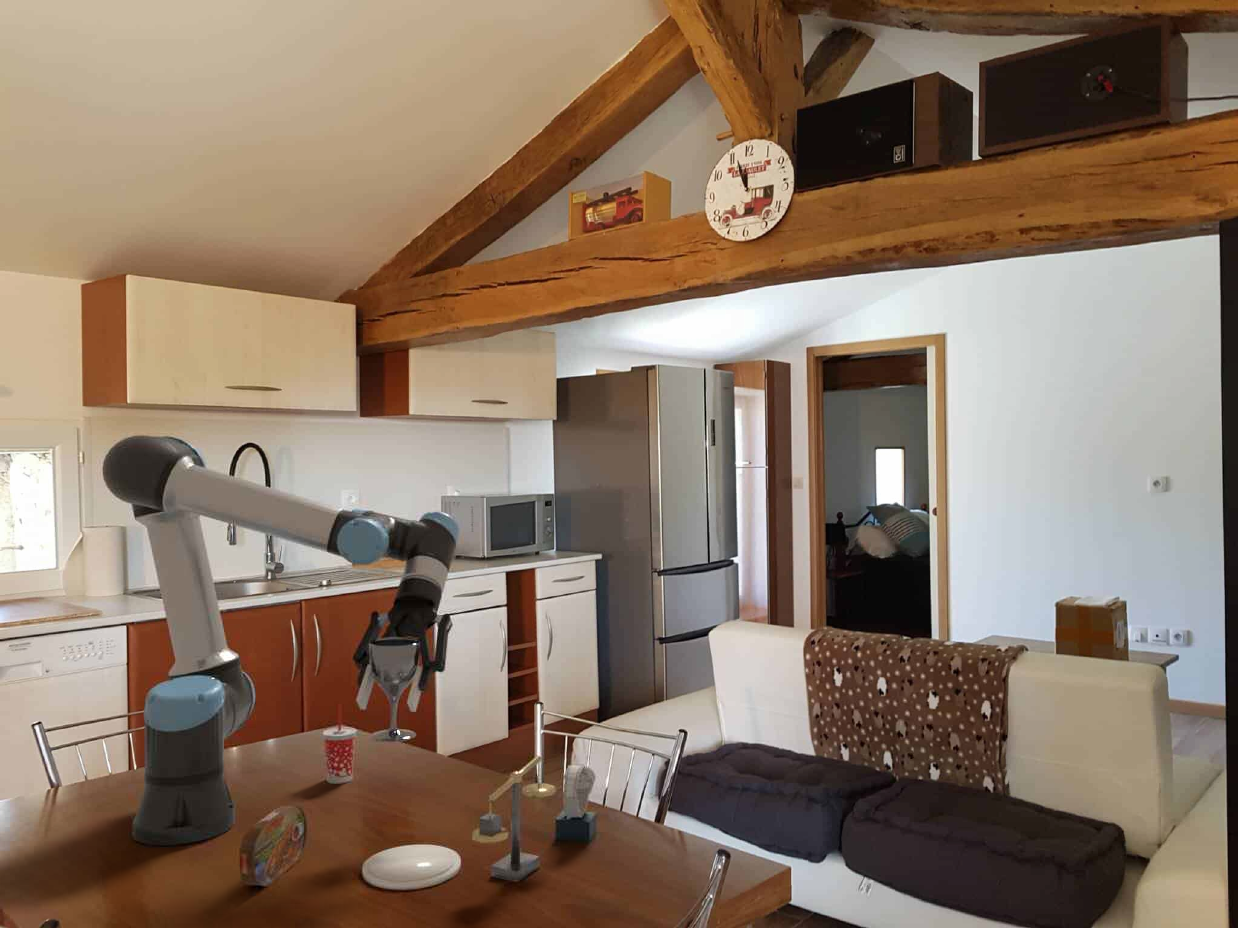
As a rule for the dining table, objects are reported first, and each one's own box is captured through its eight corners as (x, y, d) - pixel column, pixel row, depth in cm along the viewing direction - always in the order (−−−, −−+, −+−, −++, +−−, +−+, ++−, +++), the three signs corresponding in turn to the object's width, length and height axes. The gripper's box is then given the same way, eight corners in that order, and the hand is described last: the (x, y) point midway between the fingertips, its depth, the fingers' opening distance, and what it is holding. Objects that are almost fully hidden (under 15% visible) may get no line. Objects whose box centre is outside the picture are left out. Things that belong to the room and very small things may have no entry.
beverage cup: (351, 784, 178) (351, 708, 178) (318, 784, 178) (318, 708, 178) (360, 774, 184) (360, 700, 184) (328, 774, 184) (328, 700, 184)
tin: (255, 896, 131) (255, 834, 132) (234, 895, 132) (234, 833, 132) (308, 853, 146) (308, 797, 146) (289, 851, 147) (289, 796, 147)
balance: (495, 899, 130) (495, 787, 130) (465, 892, 133) (464, 782, 133) (561, 852, 146) (561, 752, 146) (533, 846, 149) (533, 748, 149)
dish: (341, 877, 137) (341, 869, 137) (405, 843, 150) (405, 836, 150) (419, 897, 131) (419, 889, 131) (479, 859, 144) (479, 852, 144)
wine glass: (406, 744, 149) (407, 647, 149) (358, 740, 150) (359, 644, 150) (426, 730, 157) (427, 638, 157) (381, 727, 158) (382, 635, 158)
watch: (599, 827, 157) (599, 759, 157) (586, 846, 149) (586, 774, 149) (566, 824, 158) (566, 757, 158) (551, 843, 150) (551, 772, 150)
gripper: (482, 604, 168) (454, 721, 152) (369, 600, 170) (330, 715, 154) (474, 577, 162) (444, 695, 146) (358, 573, 165) (316, 690, 149)
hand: (385, 705), depth 150 cm, fingers closed on wine glass, 7 cm apart
